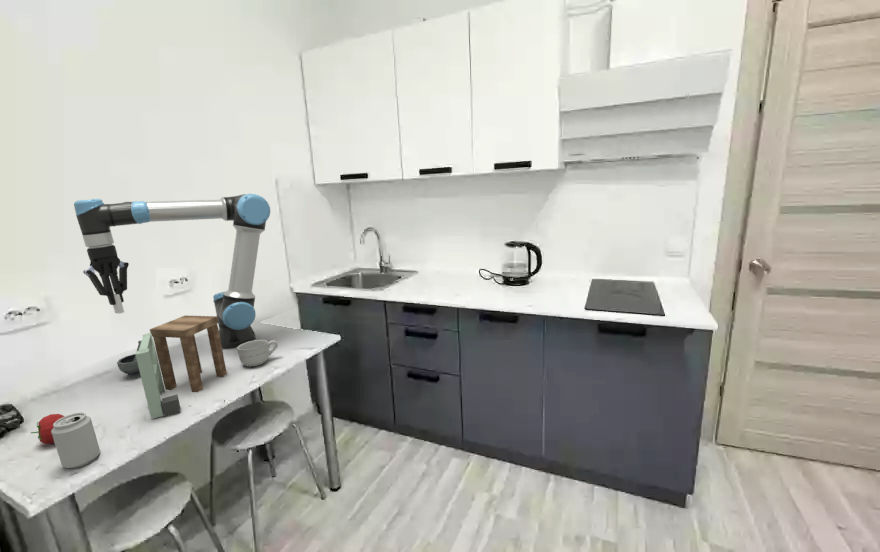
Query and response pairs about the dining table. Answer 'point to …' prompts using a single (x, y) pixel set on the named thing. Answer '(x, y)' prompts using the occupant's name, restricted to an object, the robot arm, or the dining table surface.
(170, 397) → the block
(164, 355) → the stool
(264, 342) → the teacup
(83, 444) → the can
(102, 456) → the dining table surface
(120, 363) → the mortar and pestle
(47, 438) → the tomato
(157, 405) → the frame
